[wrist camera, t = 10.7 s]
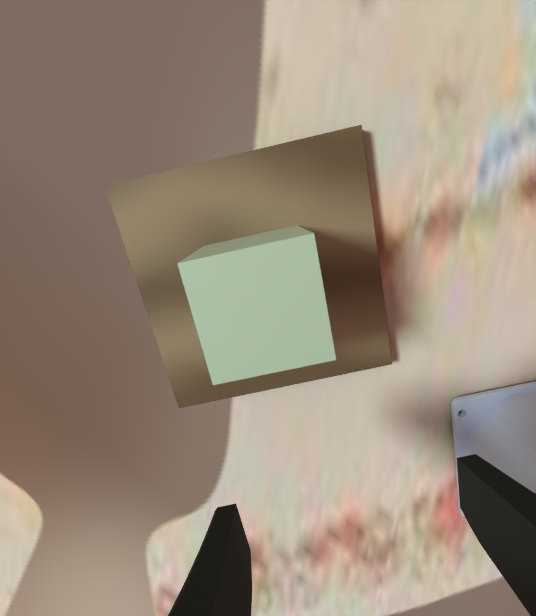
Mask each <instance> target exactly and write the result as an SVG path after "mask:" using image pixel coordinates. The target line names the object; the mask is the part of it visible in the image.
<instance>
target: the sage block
mask: <svg viewBox="0 0 536 616" xmlns="http://www.w3.org/2000/svg"><path fill="white" fill-rule="evenodd" d="M177 264H178V268H179V271H180V274H181V278H182V281H183V285H184V288H185V292H186V295H187V298H188V302H189V305H190V309H191V312H192V316H193V319H194V322H195V326H196V329H197V333H198V336H199V339H200V343H201V346H202V350H203V353H204V357H205V360H206V363H207V367H208V370H209V374H210V377H211V381H212V384H213V385H217V384H222V383H227V382H232V381H236V380H241V379H246V378H251V377H256V376H261V375H266V374H270V373H275V372H280V371H285V370H290V369H295V368H300V367H304V366H309V365H314V364H319V363H324V362H329V361H333V360H336V356H335V350H334V344H333V338H332V333H331V327H330V321H329V315H328V310H327V304H326V298H325V292H324V287H323V281H322V275H321V270H320V264H319V258H318V252H317V247H316V241H315V235H314V233H313V232H311V231H308V230H306V229H304V228H302V227H300V226H297V225H296V226H291V227H287V228H282V229H278V230H273V231H269V232H264V233H260V234H255V235H251V236H246V237H242V238H237V239H233V240H228V241H224V242H219V243H215V244H210V245H206V246H203V247H201V248H200V249H198V250H197V251H195V252H194V253H192V254H191V255H189V256H188V257H186V258H185V259H183V260H182V261H180V262H179V263H177Z"/></svg>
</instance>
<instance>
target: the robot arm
mask: <svg viewBox="0 0 536 616" xmlns="http://www.w3.org/2000/svg"><path fill="white" fill-rule="evenodd" d="M461 410H463V411H462V412H461V413H459V414H458V412H459V411H461ZM451 414H452V426H453V439H454V452H455V465H456V478H457V490H458V503H459V511H460V512H461V514H462V515H463V516H464V517H466V519H467V521H468V523H469V525H470V527H471V528H472V530H473V532H474V533H475V535H476V537H477V539H478V540H479V542H480V544H481V545H482V547H483V548H484V550H485V551H486V552H487V554H488V555H489V557H490V558H491V560H492V561H493V563H494V564H495V565H496V567H497V568H498V570H499V571H500V573H501V574H502V575H503V577H504V578H505V580H506V581H507V583H508V584H509V585H510V587H511V588H512V589H513V591H514V592H515V594H516V595H517V597H518V598H519V600H520V601H521V602H522V604H523V605H524V607H525V608H526V610H527V611H528V612H529V613H530V615H531V616H536V381H534V382H529V383H524V384H519V385H514V386H509V387H504V388H500V389H495V390H490V391H485V392H480V393H475V394H470V395H465V396H460V397H456V398H455V399H453V400H452V402H451ZM251 603H252V572H251V552H250V547H249V544H248V541H247V538H246V535H245V531H244V528H243V525H242V522H241V519H240V515H239V512H238V509H237V506H236V504H232V505H227V506H223V507H218V508H217V509H216V510H215V513H214V515H213V518H212V521H211V523H210V526H209V528H208V531H207V533H206V536H205V538H204V541H203V543H202V545H201V548H200V550H199V552H198V555H197V557H196V559H195V561H194V563H193V566H192V568H191V570H190V572H189V575H188V577H187V579H186V581H185V583H184V585H183V587H182V589H181V591H180V593H179V595H178V597H177V599H176V601H175V603H174V605H173V607H172V609H171V611H170V613H169V615H168V616H251Z"/></svg>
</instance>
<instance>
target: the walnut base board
mask: <svg viewBox="0 0 536 616" xmlns="http://www.w3.org/2000/svg"><path fill="white" fill-rule="evenodd" d="M105 189H106V192H107V195H108V197H109V201H110V204H111V206H112V209H113V212H114V215H115V218H116V221H117V224H118V227H119V230H120V233H121V236H122V239H123V242H124V245H125V248H126V251H127V254H128V257H129V260H130V263H131V266H132V269H133V272H134V275H135V278H136V281H137V284H138V287H139V290H140V293H141V296H142V299H143V302H144V305H145V308H146V311H147V314H148V317H149V320H150V323H151V326H152V329H153V332H154V335H155V338H156V341H157V344H158V347H159V350H160V353H161V356H162V359H163V362H164V365H165V367H166V371H167V374H168V377H169V380H170V383H171V386H172V389H173V391H174V395H175V398H176V401H177V403H178V407H179V408H182V407H187V406H192V405H197V404H202V403H207V402H211V401H216V400H221V399H226V398H231V397H236V396H240V395H245V394H250V393H255V392H260V391H265V390H269V389H274V388H279V387H284V386H289V385H293V384H298V383H303V382H308V381H313V380H318V379H322V378H327V377H332V376H337V375H342V374H347V373H351V372H356V371H361V370H366V369H371V368H375V367H380V366H385V365H390V364H392V360H391V352H390V344H389V336H388V329H387V321H386V313H385V305H384V298H383V290H382V282H381V274H380V266H379V259H378V251H377V243H376V235H375V227H374V220H373V212H372V204H371V196H370V188H369V181H368V173H367V165H366V157H365V150H364V142H363V134H362V126H361V125H359V126H355V127H350V128H346V129H342V130H338V131H334V132H329V133H325V134H321V135H317V136H312V137H308V138H304V139H300V140H295V141H291V142H287V143H283V144H278V145H274V146H270V147H266V148H261V149H257V150H253V151H249V152H245V153H240V154H236V155H232V156H228V157H223V158H219V159H215V160H211V161H206V162H202V163H198V164H194V165H189V166H185V167H181V168H177V169H173V170H168V171H164V172H160V173H156V174H151V175H147V176H143V177H139V178H134V179H131V180H126V181H122V182H117V183H113V184H109V185H105ZM296 225H297V226H300V227H302V228H304V229H306V230H308V231H311V232H313V233H314V235H315V241H316V247H317V252H318V258H319V264H320V270H321V275H322V281H323V287H324V292H325V298H326V304H327V310H328V315H329V321H330V327H331V333H332V338H333V344H334V350H335V356H336V360H333V361H329V362H324V363H319V364H314V365H309V366H304V367H300V368H295V369H290V370H285V371H280V372H275V373H270V374H266V375H261V376H256V377H251V378H246V379H241V380H236V381H232V382H227V383H222V384H217V385H213V384H212V381H211V377H210V374H209V370H208V367H207V363H206V360H205V357H204V353H203V350H202V346H201V343H200V339H199V336H198V333H197V329H196V326H195V322H194V319H193V316H192V312H191V309H190V305H189V302H188V298H187V295H186V292H185V288H184V285H183V281H182V278H181V274H180V271H179V268H178V264H177V263H179V262H180V261H182V260H183V259H185V258H186V257H188V256H189V255H191V254H192V253H194V252H195V251H197V250H198V249H200V248H201V247H203V246H206V245H210V244H215V243H219V242H224V241H228V240H233V239H237V238H242V237H246V236H251V235H255V234H260V233H264V232H269V231H273V230H278V229H282V228H287V227H291V226H296Z"/></svg>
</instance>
